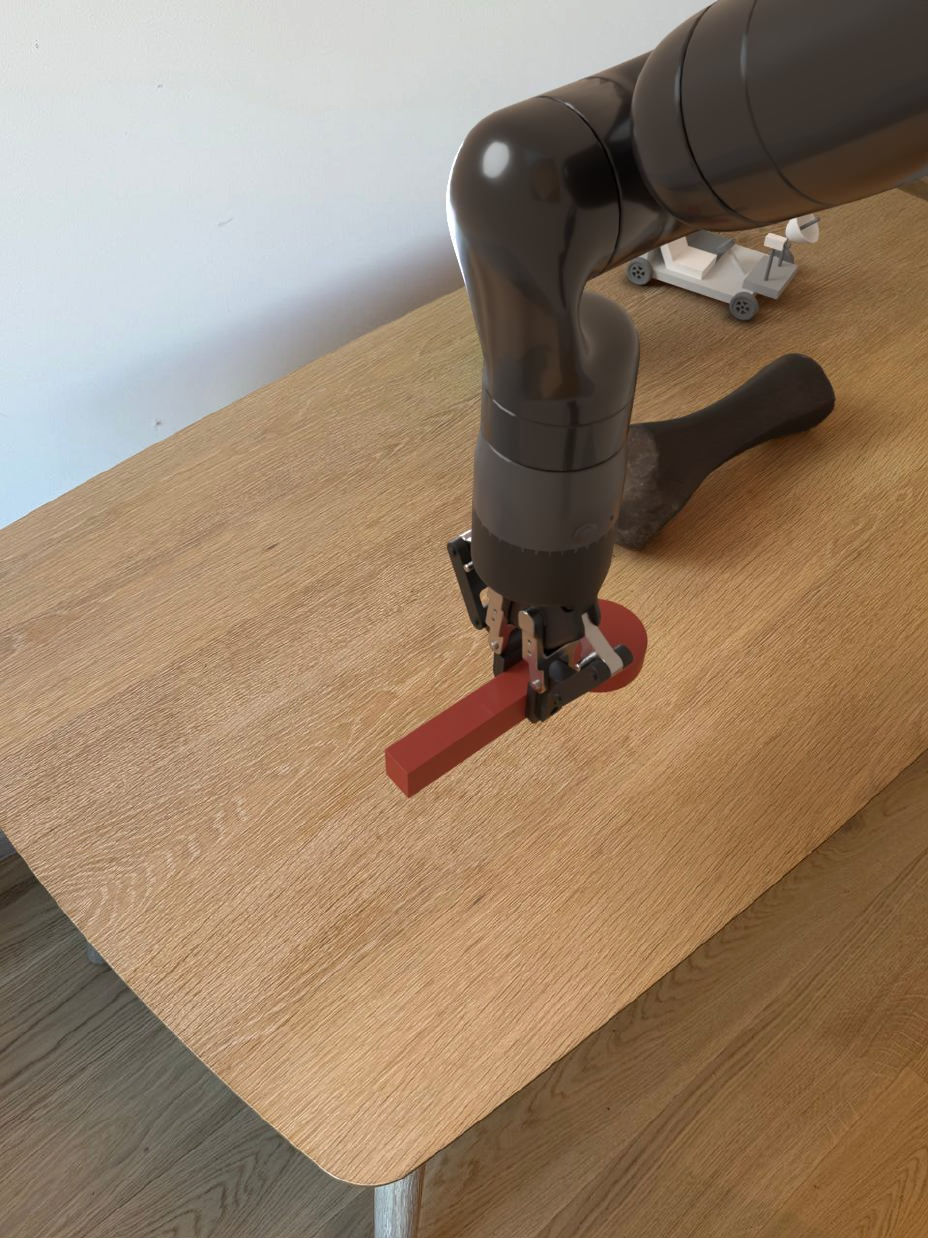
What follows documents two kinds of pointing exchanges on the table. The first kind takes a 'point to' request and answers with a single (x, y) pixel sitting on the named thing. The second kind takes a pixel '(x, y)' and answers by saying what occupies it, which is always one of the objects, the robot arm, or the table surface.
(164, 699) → the table surface
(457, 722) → the red flat paddle piece
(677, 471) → the dark brown bone
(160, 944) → the table surface
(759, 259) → the toy car
